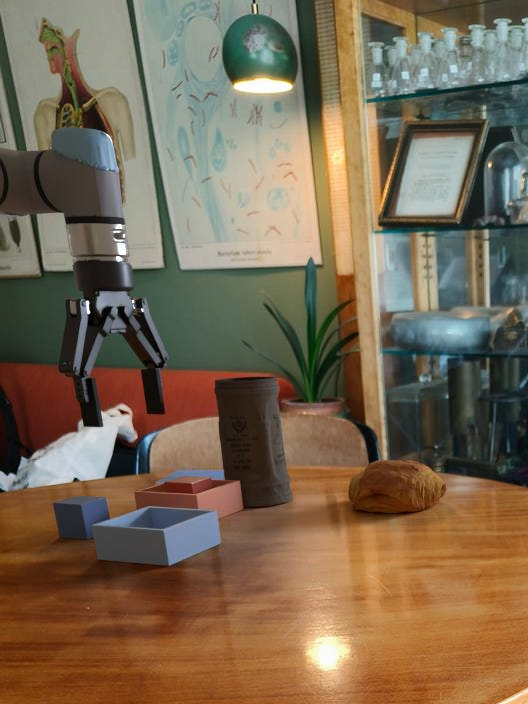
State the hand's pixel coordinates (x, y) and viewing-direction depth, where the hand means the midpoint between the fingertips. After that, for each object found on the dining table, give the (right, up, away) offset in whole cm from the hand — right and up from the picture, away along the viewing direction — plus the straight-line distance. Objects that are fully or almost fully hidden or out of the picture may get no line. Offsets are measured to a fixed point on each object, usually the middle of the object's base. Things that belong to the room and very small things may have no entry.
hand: (126, 420), depth 127 cm
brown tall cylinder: (+15, -8, +21) cm, 27 cm away
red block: (+6, -12, +10) cm, 16 cm away
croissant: (+37, -10, +13) cm, 41 cm away
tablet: (+3, -3, +35) cm, 35 cm away
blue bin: (+8, -20, -10) cm, 24 cm away
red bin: (+6, -12, +10) cm, 17 cm away
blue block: (-6, -16, 0) cm, 17 cm away
